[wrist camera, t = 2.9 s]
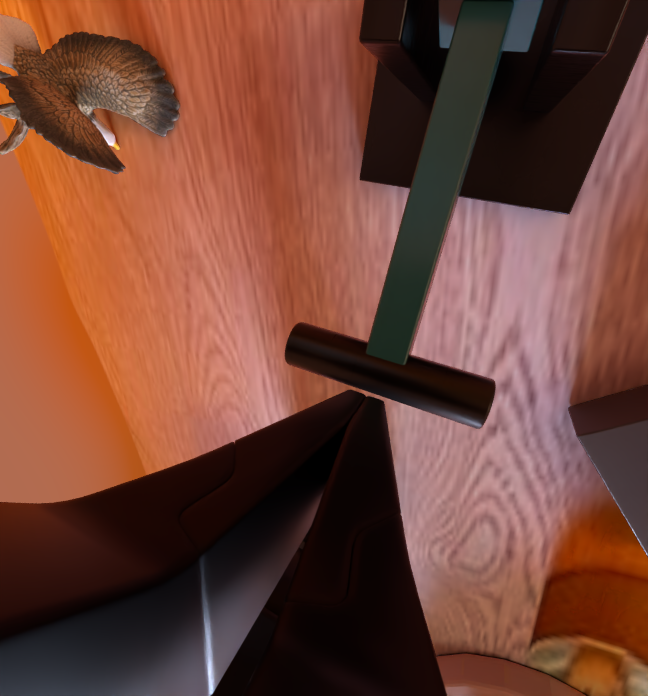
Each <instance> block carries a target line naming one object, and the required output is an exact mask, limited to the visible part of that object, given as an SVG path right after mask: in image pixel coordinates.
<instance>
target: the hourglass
mask: <svg viewBox="0 0 648 696" xmlns="http://www.w3.org/2000/svg"><path fill="white" fill-rule="evenodd" d="M436 658H437V661H438V665H439V668H440V672H441V675H442V679H443V682H444V686H445V689H446V692H447V696H586V695H585V694H583V693H581V692H579V691H577V690H575V689H574V688H572V687H570V686H568V685H566V684H564V683H562V682H561V681H559V680H557V679H555V678H553V677H551V676H550V675H547V674H545V673H542V672H539V671H536V670H533V669H530V668H527V667H525V666H522V665H519V664H516V663H513V662H510V661H507V660H505V659H498V658H492V657H486V656H479V655H473V654H467V653H465V654H455V655H445V656H437V657H436Z"/></svg>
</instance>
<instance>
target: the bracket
mask: <svg viewBox="0 0 648 696" xmlns="http://www.w3.org/2000/svg"><path fill="white" fill-rule="evenodd" d="M647 35H648V0H544V3H543V6H542V10H541V13H540V16H539V19H538V22H537V25H536V29H535V32H534V35H533V38H532V41H531V44H530V48H529V50H528V51H527V52H514V51H503V52H502V55H501V59H500V62H499V65H498V69H497V72H496V75H495V79H494V82H493V85H492V88H491V92H490V95H489V98H488V102H487V105H486V108H485V112H484V115H483V118H482V121H481V125H480V128H479V131H478V135H477V138H476V141H475V145H474V148H473V151H472V154H471V158H470V161H469V164H468V168H467V171H466V174H465V178H464V181H463V184H462V187H461V191H460V194H459V197H465V198H471V199H477V200H483V201H489V202H495V203H501V204H507V205H513V206H519V207H525V208H531V209H537V210H543V211H549V212H555V213H561V214H567V215H568V214H570V212H571V210H572V208H573V205H574V203H575V201H576V198H577V196H578V194H579V191H580V189H581V187H582V185H583V182H584V180H585V178H586V175H587V173H588V171H589V168H590V166H591V164H592V162H593V159H594V157H595V155H596V152H597V150H598V148H599V145H600V143H601V141H602V139H603V136H604V134H605V132H606V129H607V127H608V125H609V122H610V120H611V118H612V116H613V113H614V111H615V109H616V106H617V104H618V102H619V99H620V97H621V95H622V92H623V90H624V88H625V86H626V83H627V81H628V79H629V76H630V74H631V72H632V69H633V67H634V65H635V63H636V60H637V58H638V56H639V53H640V51H641V49H642V46H643V44H644V42H645V40H646V37H647ZM359 39H360V42H361V43H362V44H363V45H364V46H365V47H366V48H367V49H368V50H369V51H370V52H371V53H372V54H373V55H374V56H375V57H376V58H377V59H378V64H377V70H376V77H375V83H374V90H373V96H372V102H371V109H370V115H369V121H368V128H367V134H366V141H365V147H364V153H363V160H362V166H361V172H360V180H362V181H368V182H374V183H380V184H386V185H392V186H398V187H404V188H411V184H412V181H413V177H414V173H415V170H416V166H417V162H418V159H419V155H420V152H421V148H422V144H423V141H424V137H425V133H426V130H427V126H428V123H429V119H430V115H431V112H432V108H433V104H434V101H435V97H436V93H437V90H438V86H439V83H440V79H441V75H442V72H443V68H444V64H445V61H446V57H447V53H448V50H449V48H441V47H440V43H439V20H438V0H364V7H363V14H362V22H361V29H360V37H359Z"/></svg>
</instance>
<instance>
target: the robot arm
mask: <svg viewBox="0 0 648 696" xmlns="http://www.w3.org/2000/svg"><path fill="white" fill-rule="evenodd" d="M400 514H401V510H400V503H399V497H398V490H397V483H396V477H395V470H394V464H393V457H392V450H391V444H390V437H389V431H388V424H387V418H386V411H385V404H384V402H383V401H382V400H380V399H377V398H374V397H371V396H367V397H366V396H365V395H364V394H362V393H359V392H356V391H353V390H347V391H345V392H343V393H341V394H338V395H336V396H334V397H332V398H329V399H327V400H325V401H323V402H321V403H318V404H316V405H314V406H312V407H309V408H307V409H305V410H303V411H300V412H298V413H296V414H294V415H292V416H289V417H287V418H285V419H283V420H280V421H278V422H276V423H274V424H271V425H269V426H267V427H265V428H262V429H260V430H258V431H256V432H254V433H251V434H249V435H247V436H245V437H242V438H240V439H238V440H236V441H235V443H234V442H231V443H229V444H226V445H224V446H222V447H220V448H217V449H215V450H213V451H210V452H208V453H206V454H203V455H201V456H198V457H196V458H194V459H191V460H188V461H185V462H183V463H180V464H177V465H175V466H172V467H169V468H166V469H164V470H161V471H158V472H155V473H152V474H149V475H146V476H143V477H141V478H138V479H135V480H132V481H129V482H126V483H123V484H120V485H117V486H114V487H111V488H108V489H105V490H103V491H100V492H97V493H94V494H91V495H87V496H84V497H81V498H76V499H72V500H68V501H61V502H55V503H41V504H33V503H30V504H29V503H8V502H0V696H447V692H446V689H445V686H444V682H443V679H442V675H441V672H440V668H439V665H438V661H437V658H436V655H435V651H434V648H433V644H432V641H431V637H430V634H429V630H428V627H427V623H426V620H425V616H424V613H423V610H422V606H421V603H420V599H419V596H418V592H417V588H416V584H415V580H414V576H413V572H412V569H411V565H410V561H409V555H408V550H407V545H406V540H405V534H404V528H403V521H402V516H401V515H400Z"/></svg>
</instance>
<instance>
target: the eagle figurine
mask: <svg viewBox="0 0 648 696" xmlns="http://www.w3.org/2000/svg"><path fill="white" fill-rule="evenodd" d="M0 64H1V65H3V66H7V67H10V68H12V69H14V70H15V71H17V73H18V75H19V76H15V77H14V76H11V75H10V74H7V73H4V72H2V71H0V82H1V83H2V84H5V85H6V88H7V89H8V90H9V96H10V97H11V98H12V99H13V100H14V102H16V103H7V104H2V105H0V115H2V116H4V117H7V118H11V119H17V121H16V124H15V126H14V128H13V130H12V133H11V134H10V136H9V137H8V139H7V140H6V141H4V142H3V143H2V144H1V145H0V154H2V155H3V154H6V153H8V152H10V151H12V150H14V149H16V147H18V146H19V145H20V144H21V143H22V142H23V140H24V139H25V137H26V135H27V132H28V129H29V128H30V129H35V131H36V133H37V134H38V135H41V136H43V137H44V139H45V140H47V141H48V142H50V143H52V144H53V145H54V146H56V147H57V148H58V149H61V150H62V151H63V152H65V153H66V154H67V155H69V156H70V157H74V158H76V159H78V160H80V161H82V162H84V163H87V164H91V165H94V166H95V167H97V168H100V169H106V170H108V171H111V172H112V173H114V174H119V172H123V169H125V168H126V167H125V166H124V165H123V164H122V163H121V162H120V161H119V159H118V158H117V157H116V155H115V154H114V153H113V151H112V150H111V149H110V147H109V145H111V146H113V147H115V148H116V149H117V150H119V149H120V147H119V145H118V144H117V142H116V140H115V135H114V134H113V132H112V131H111V130H110V129H109V128H107V126H106V125H104V124H103V123H102V122H101V121H100V120H99V119H98V118H97V117H96V115H95V114H94V112H93V111H92V110H94V109H96V108H103V109H107V110H110V111H113V112H116V113H118V114H121V115H124V116H126V117H129V118H131V119H133V120H134V121H136V122H137V123H139V124H141V125H142V126H143V127H145V128H148V129H149V130H150V131H152V132H154V133H155V134H158V135H160V136H163V137H165V136H166V134H167V130H172V129H173V128H174V124H173V121H176V120H178V118H179V113H178V109H179V106H180V104H179V101H178V100H177V99H176V98H175V96H174V95H173V93H174V87H173V86H172V84H171V83H170V82H169V81H168V80H166V79H164V78H163V77H164V75H165V74H166V73H165V70H164V69H163V68H161V67H159V66H158V65H157V64H158V62H157V60H156V58H155V57H153V56H152V55H151V54H150V53H149V52H147V51H146V50H143V48H142V47H141V46H140V45H138V44H133V43H132V42H131V41H129V40H120V39H119V38H115V37H112V36H108V37H106V38H105V37H104V36H103V35H97V34H90V35H89V33H88V32H79V33H77V32H74V33H73V34H71V35H65V37H64V38H60V39H59V42H58V43H57V44H54V45H53V46H52V49H47V50H46V51H45V53H44V54H41V50H40V47H39V44H38V40H37V38H36V35H35V33H34V31H33V29H32V28H31V26H30V25H29V24H27V23H26V22H24V21H22V20H20V19H18V18H15V17H10V16H4V15H1V14H0Z"/></svg>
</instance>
